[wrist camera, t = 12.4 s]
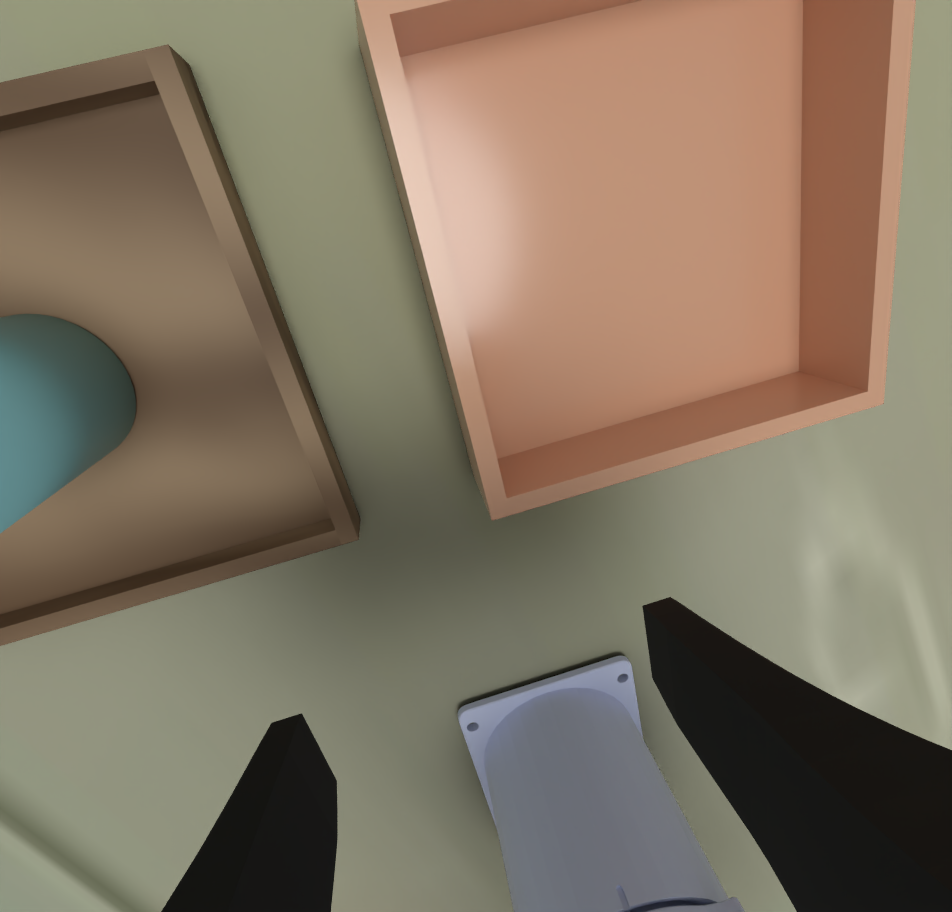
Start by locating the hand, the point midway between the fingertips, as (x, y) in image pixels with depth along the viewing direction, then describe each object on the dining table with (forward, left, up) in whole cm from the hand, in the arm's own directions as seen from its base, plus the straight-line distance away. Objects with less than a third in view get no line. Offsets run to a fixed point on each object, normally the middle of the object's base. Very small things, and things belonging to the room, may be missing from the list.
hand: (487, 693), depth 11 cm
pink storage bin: (+7, -8, -9) cm, 14 cm away
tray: (+7, +10, -9) cm, 15 cm away
